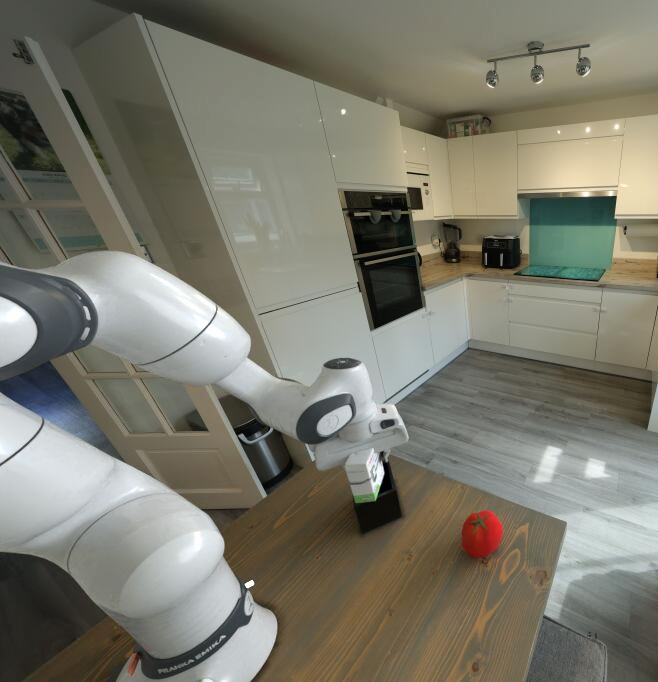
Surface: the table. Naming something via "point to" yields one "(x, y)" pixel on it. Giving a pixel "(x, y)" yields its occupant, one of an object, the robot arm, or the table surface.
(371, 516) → the trash bin
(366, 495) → the ink box
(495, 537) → the tomato
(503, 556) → the table surface
